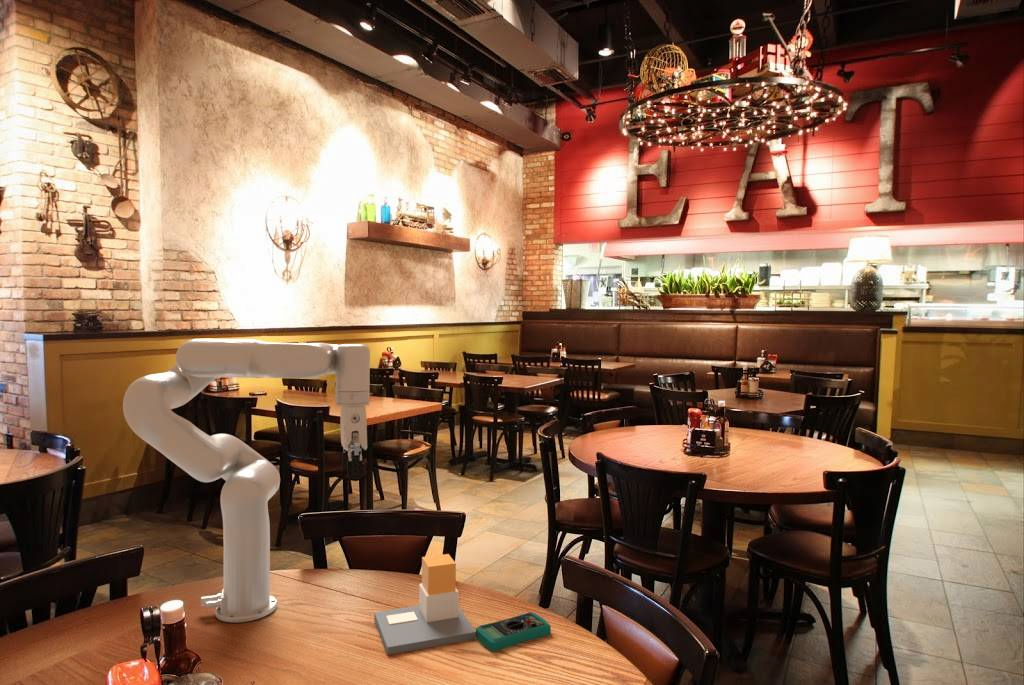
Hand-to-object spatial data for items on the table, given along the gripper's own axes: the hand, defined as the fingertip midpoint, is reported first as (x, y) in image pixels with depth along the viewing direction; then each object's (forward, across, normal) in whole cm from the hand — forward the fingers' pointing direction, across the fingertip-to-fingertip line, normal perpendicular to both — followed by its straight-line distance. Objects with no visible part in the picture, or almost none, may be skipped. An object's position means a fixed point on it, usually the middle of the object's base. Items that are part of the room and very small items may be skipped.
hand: (352, 473), depth 139 cm
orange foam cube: (+23, -13, -17) cm, 32 cm away
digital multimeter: (+31, -25, -30) cm, 50 cm away
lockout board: (+30, -16, -13) cm, 37 cm away
